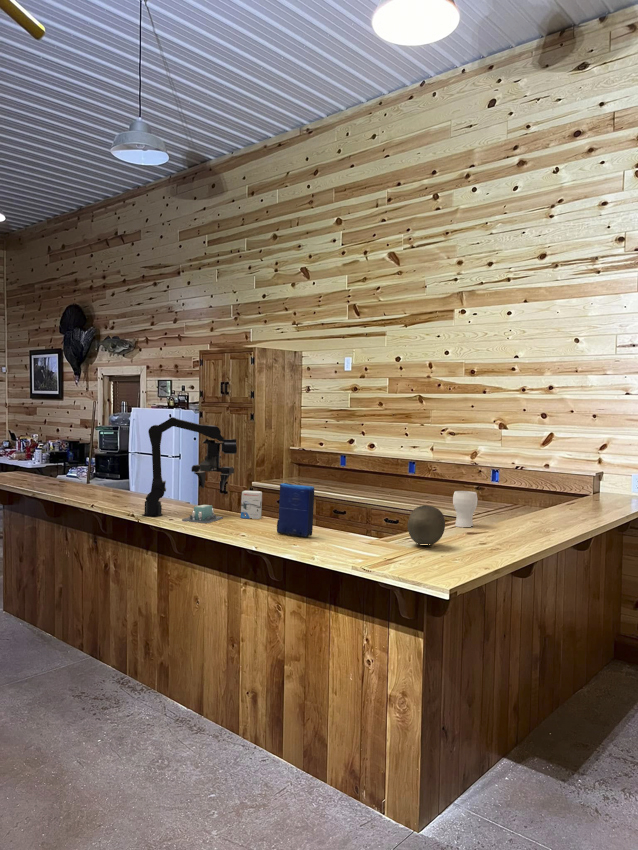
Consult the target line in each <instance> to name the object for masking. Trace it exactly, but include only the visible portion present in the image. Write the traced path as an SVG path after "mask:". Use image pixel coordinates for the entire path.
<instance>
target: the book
mask: <svg viewBox="0 0 638 850" xmlns="http://www.w3.org/2000/svg"><path fill="white" fill-rule="evenodd" d="M314 503H315V487H314V486H312V485H311V486H310V485H301V484H300V485H299V484H293V483H288V482H283V483H280V484H279V501H278V519H277V523H276V533H277V534H281V535H285V536H291V537H300V538H301V537H303V538H304V537H305V538H306V537H307V538H308V537H311V536H312V535H313V530H314V529H313V527H314V526H313V525H314V509H315V508H314V506H315V505H314Z"/></svg>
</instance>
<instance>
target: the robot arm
mask: <svg viewBox="0 0 638 850" xmlns="http://www.w3.org/2000/svg"><path fill="white" fill-rule="evenodd" d="M172 427H174V428H179V429H182V430H183V429H184V430H187V431H191V432H195V433H199V434H201V435H203V436H205V439H204V440H203V441H202V444H206V455H205V456H204V460H203V461H202V462H200V463H199V464H194V465H192V466H191V470H190V471H191V473H193V474H194V475H196V476H197V478H198V480H199V482H200V485H201V488H202V489H204V488H205V485H206V484H205V483H206V473H210V472H215V473H221V474H219V476H220V490H224V486H225V484H226V482H227V481H228V479H229V477H230V476H232V474H235V468H234V466H222V465H221V464H220V459H221V458H222V456H221V452H222V453H223V455H237V451H238V447H237V439H236V438H231V439H230V438H229V439H228V438H227V439H226V438H224V437H223V436H222V435H221V434H222V433H221V432H222V431H221V429H220V428H219V427H218V426H216V425H211V424H210V425H209V424H199V423H196V422H192V421H188V420H184V419H180V418H177V417H174V416H171V417H170V418H168V419H167V420H165V421H163V422H161V423H160V424H153V425H152V426H150V427H149V428H148V437H149V440H150V445H151V459H152V463H151V464H152V481H151V486H150V487H151V488H150V492H149V493H148V494H147V495H146V497H145V501H144V511H143V514H142V515H141V516H142V517H143V516H144V517H152V518H154V517H159V516H160V517H161V516H163V513H162V512H163V511H162V510H163V509H162V505H163V504H162V501H160V499H162V498H163V497H164V495H165V492H166V491H167V488H166V484H167V483H166V480H163V477H162V456H161V453H162V451H161V444H162V443H161V442H162V438H163V437H162V436H163V433H164V432H166V431H168V430H169V429H171V428H172ZM207 437H208V438H210V439H208V438H207ZM216 440H217V441H216Z"/></svg>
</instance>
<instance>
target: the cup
mask: <svg viewBox="0 0 638 850" xmlns="http://www.w3.org/2000/svg"><path fill="white" fill-rule="evenodd" d="M478 499H479V498H478V493H477V492H476V491H471V490H470V491H469V490H455V491H454V493H453V496H452V503H453V508H454V510H455V512H456V515H455V516H456V519H455V522H454V523H455V524H454V526H455V527H458V528H463V527H471V526H473V527H474V522H473V519H474V518H473V516H474V513H475V511H476V509H477V506H478ZM471 528H472V527H471Z"/></svg>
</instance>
